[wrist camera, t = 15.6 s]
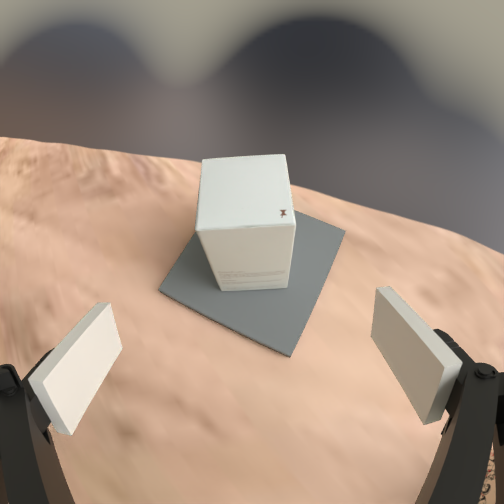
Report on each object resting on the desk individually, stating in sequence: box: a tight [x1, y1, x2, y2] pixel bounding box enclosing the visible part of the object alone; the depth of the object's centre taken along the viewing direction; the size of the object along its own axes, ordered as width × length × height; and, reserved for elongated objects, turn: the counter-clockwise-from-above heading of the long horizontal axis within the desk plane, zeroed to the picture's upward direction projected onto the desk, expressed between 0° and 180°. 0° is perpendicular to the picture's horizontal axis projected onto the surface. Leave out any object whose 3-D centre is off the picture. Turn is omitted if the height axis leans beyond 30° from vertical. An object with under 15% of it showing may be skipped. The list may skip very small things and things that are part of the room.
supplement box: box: [195, 154, 296, 291], centre depth 29 cm, size 7×7×13 cm
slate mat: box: [158, 210, 345, 357], centre depth 35 cm, size 16×16×1 cm
